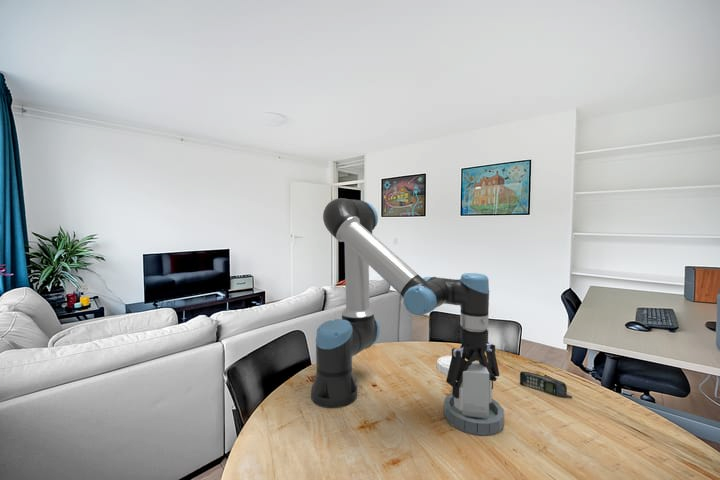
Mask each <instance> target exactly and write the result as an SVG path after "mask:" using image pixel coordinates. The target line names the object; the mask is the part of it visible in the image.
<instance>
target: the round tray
mask: <svg viewBox="0 0 720 480" xmlns="http://www.w3.org/2000/svg"><path fill="white" fill-rule="evenodd" d="M452 393H453V392H451V393H449V394H447V395H446V396H445V398H444V401H443V413H444V417H445V419H446V420H447V422H448V423H449V424H450V425H451V426H452V427H454V428H456V429H457V430H459V431H461V432H464V433H466V434H469V435H474V436H480V437H481V436H482V437H486V436H493V435H496V434H499V433H500V432H501V431H502V430H503V429H504V425H505V422H504V421H505V419H504V418H505V414H504V413H505V412H504V408H503V406H502V405H501V404H500V403H499V402H498V401H497V400H495V399H493V398H492V403H489V418H481V417H472V416H464V415H462V414H461V411H460V410H459V409H457V408H456V407H455V406H454V396H453V395H452Z"/></svg>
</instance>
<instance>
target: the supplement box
mask: <svg viewBox="0 0 720 480" xmlns="http://www.w3.org/2000/svg"><path fill="white" fill-rule="evenodd" d="M461 387H463V410H462V411H461V414H462V415H464V416H472V417H481V418H489V372H488V370H487V368H486V367H485V366H483V365H482V364H480V363H479V361H478V362H477V361H474V362H472V364H471V365H470V366H469V367H468V370H467V371H464V372H463V381H462V383H461Z"/></svg>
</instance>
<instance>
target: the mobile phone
mask: <svg viewBox="0 0 720 480" xmlns="http://www.w3.org/2000/svg"><path fill="white" fill-rule="evenodd" d="M519 384H520V386H523V387H527V388H530V389H532V390H537V391H539V392H543V393H545V394H547V395H551V396H556V397H567V398H570V399H572V398H573V396H572V395H570V394H567V392H568V388H567V385H566V383H565V382H563V381H562V380H558V379H556V378H552V377H548V376H545V375H542V374H541V375H540V374H537V373H535V372H534V373H533V372H530V371H520V372H519Z"/></svg>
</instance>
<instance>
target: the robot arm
mask: <svg viewBox="0 0 720 480" xmlns="http://www.w3.org/2000/svg"><path fill="white" fill-rule="evenodd" d="M378 215H379V214H378V212H377V210H376V208H375V207H374V206H373V204H371V203H370V202H367V201H364V200H362V199H361V200H359V199H349V198H346V197H345V198H342V197H340V198H335V199H332V200H331V201H330V202H328V204H326V206H325V208H324V210H323V213H322V220H323V223H324V226H325V228H326V229H327V231H328V232H329V234H331V236H333V237H334V239H336V240H337V241H338V242H340V243H342V242H343V243H344V273H345V274H344V275H345V277H344V279H345V309H343V311H342V312H341V318H337V319H333V320H330V319H329V320H328V321H327V320H326V321H324V322H323V323H321V324H320V325H319V326H318V328H317V329H316V334H315V335H316V337H315V356H316V357H315V359H316V366H315V367H316V374H315V376H314V379H313V382H312V385H311V389H310V395H311V401H313V403H314V404H316V405H317V406H320V407H322V408H323V407H324V408H332V409H333V408H342V407H345V406H349V405H350V404H352V403H353V402H354V401H355V400H357V398H358V386H357V382H356V379H355V376H354V373H353V357H354V356H355V355H357V354H359V353H361V352H362V351H364V350H367V349H369V348H371V347H372V346H373V345H374V344H375V343H376V342H377V341H378V339H379V337H380V332H381V329H380V327H381V326H380V323H379V321H378V320H377V318H376V317H375V313H374V311H373V310H372V309H371V307H370V271H369V270H370V268H371V269H372V270H374V271H375V273H377V274H378V275H379V276H380V277H381V278H382V279H384V280H385V282H387V284H388V285H390V286H391V287H392V289H394V290H395V291H396V293H397V292H398V294H400V296H401V297H402V298H403V305H404V307H405V309H406V310H407V311H408V312H409V313H410V314H412V315H414V316H423V315H426V314H430V313H431V312H432V311H434V310H435V309H437V308H438V307H440V306H441V305H444V304H446V305H453V306H460V315H459V316H460V317H459V318H460V319H459V321H460V322H459V323H460V324H459V325H460V326H461V327H459V329H460V330H459V331H460V332H459V334H460V335H459V339H460V342H461V345H460V348H454V347H453V348H451V356H452V358H451V362H450V367H449V371H448V375H446V381H445V382H446V384H448V385H450V386H451V388H452V390H451V391H452V392H451V393H452V395H453V396H454V406H455V407H456V408H457V409H459V410H460V411H462V410H463V387H461V383H462V381H463V372H464V371H467V370H468V367H469V366H470V365H471V364H472V362H477V361H478V363H480V364H482V365H483V366H485V367H486V368H487V370H488V372H489V403H492V399H493V389H494V382H496V381H497V378H498V377H499V376H500V371H499V366H498V362H497V356H496V345H495V344H494V343H491V342H489V330H488V329H489V311H490V310H489V309H490V308H489V307H490V305H489V304H490V303H489V301H490V286H489V285H490V284H489V281H490V279H489V277H488V276H487V275H486V274H483V273H478V272H477V273H476V272H475V273H474V272H466V273H465V272H464V273H462V274H461V275H460V278H458V279H454V278H446V277H437V276H425V277H421V275H419V274H418V273H417V272H416V271H415V270H414V269H412V268H411V267H410V266H409V265H408V264H407V263H406V262H405V261H403V260H402V259H401V258H400V257H399V256H398V255H396V253H395V252H393V251H392V250H391V249H390V248H389V247H387V245H385V244H384V243H383V242H382V241H381V240H380V239H379V238H377V237H376V236H375V235H374V234H373V231H374V230H375V228H376V227H377V225H378V221H379V218H378V217H379V216H378ZM369 267H370V268H369Z"/></svg>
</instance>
